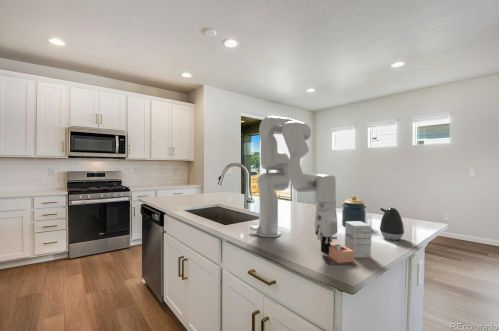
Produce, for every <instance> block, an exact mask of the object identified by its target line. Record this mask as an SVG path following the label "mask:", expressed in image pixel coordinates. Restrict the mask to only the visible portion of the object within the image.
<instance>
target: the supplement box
mask: <svg viewBox="0 0 499 331" xmlns="http://www.w3.org/2000/svg"><path fill="white" fill-rule="evenodd" d="M344 227H345V229H344V233H345V234H344V238H345V239H344V246H345V247H347V248H349V249H351V250H353V251H354V259H355V258H371V254H372V252H371V251H372V225H370V224H368V223H364V222H361V221H346V222H345V226H344Z"/></svg>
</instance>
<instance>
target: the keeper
mask: <svg viewBox="0 0 499 331" xmlns="http://www.w3.org/2000/svg"><path fill="white" fill-rule="evenodd" d="M333 240H338V236H336V234H334V235H333V236H332V237H331V241H332V242H333Z"/></svg>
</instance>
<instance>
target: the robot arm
mask: <svg viewBox="0 0 499 331" xmlns="http://www.w3.org/2000/svg"><path fill="white" fill-rule="evenodd" d="M258 133H259V138H260V165H261V168H262V169H263V170H264V171H275V172H263V173H262V174H260V175H259V176H258V178H257V188H258V193H259V194H258V195H259V200H258V201H259V204H258V205H259V208H258V209H259V217H258V220H259V221H258V222H259V223H258V225H250V230H252V231H256V232H255V234H256V235H257V236H258V237H260V238H261V237H262V238H277V237H280V236H281V235H282V232H281V231H280V230H278V227H279V220H278V219H279V217H278V216H279V198H278V196H277V194H276V192H277V191H285V190H287V189H288V188H289V187H290V184H291V186H292V188H293V189H294V190H295V191H296V192H298V193H306V192H307V193H309V192H315V216H314V217H315V218H314V219H315V220H314V233H315V235H316V236H317V237H316V239H317V240H318V241H320V252H321V253H322V254H329V246H330V243H329V242H331V237H332V236H333V235H336V234H337V233H338V217H337V216H338V215H337V214H338V213H337V210H336V209H337V208H336V207H337V204H336V203H337V202H336V199H337V196H336V195H337V192H336V188H337V187H336V186H337V185H336V184H337V182H336V181H337V180H336V179H337V178H336V176H335V175H333V174H320V173H303V170H302V168H301V164H300V163H301V158H304V157H305V156H307V154H308V153H309V152H310V149H309V146H308V144H307V142H306V141H308V140H309V139H310V138H311V135H312V130H311V127H310V126H309V124H307V123H305V122H302V121H299V120H295V119H293V118H289V117H282V116H276V115H269V116H266V117H264V118H263V119H261V121H260V124H259V128H258ZM275 135H282V137H283V139H284V142H285V145H286V147H287V150H288V154H289V155H288V154H287V153H285V152H284V151H283V152H282V151H278V141H277V138H276V137H275Z"/></svg>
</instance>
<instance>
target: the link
mask: <svg viewBox="0 0 499 331" xmlns="http://www.w3.org/2000/svg"><path fill="white" fill-rule="evenodd" d="M329 243H330V246H329V257H330V258H331V259H333V260H334V261H336V262H337V263H347V262H355V258H354V251H353V250H351V249H349V248H347V247H345V244H344V245H341V251H339V250H338V249H336V248H335V245H336V244H337V243H335V242H334V241H333V240H332V241H331V242H329Z"/></svg>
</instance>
